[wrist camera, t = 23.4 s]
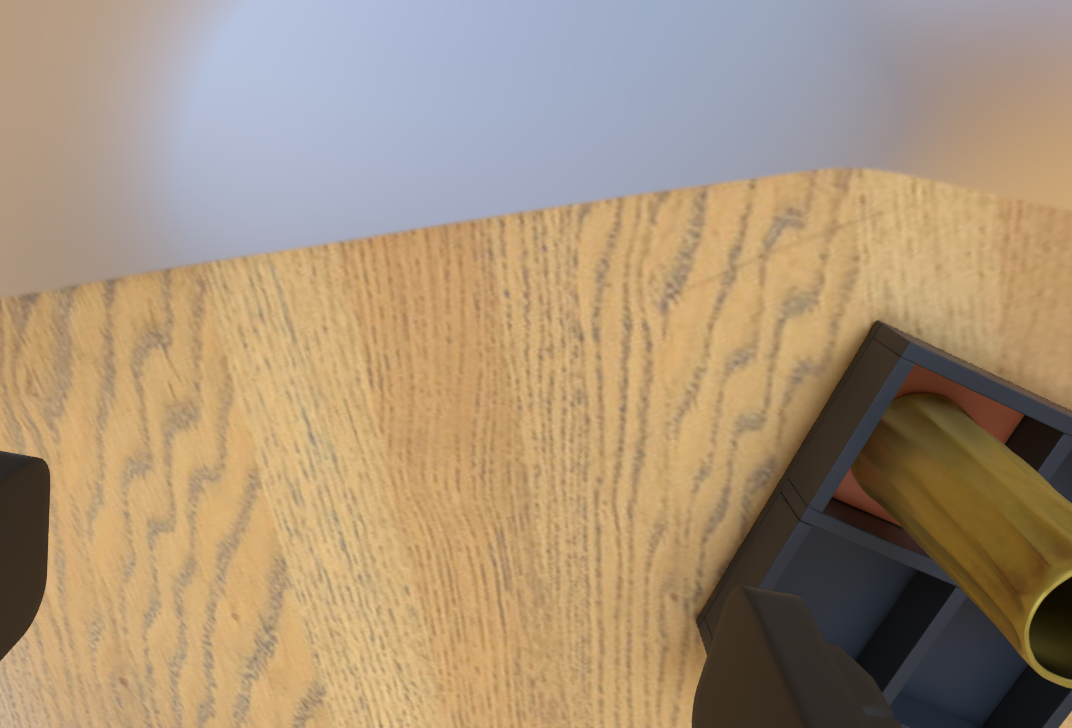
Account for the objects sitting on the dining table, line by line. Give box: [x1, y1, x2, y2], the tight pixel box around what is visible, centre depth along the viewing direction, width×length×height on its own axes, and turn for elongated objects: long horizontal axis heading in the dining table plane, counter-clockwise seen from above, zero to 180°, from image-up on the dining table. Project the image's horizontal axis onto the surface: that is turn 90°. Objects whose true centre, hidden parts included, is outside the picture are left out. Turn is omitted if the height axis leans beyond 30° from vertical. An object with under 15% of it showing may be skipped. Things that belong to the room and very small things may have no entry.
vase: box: [852, 393, 1072, 688], centre depth 35 cm, size 6×6×14 cm
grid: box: [696, 320, 1072, 728], centre depth 42 cm, size 18×18×4 cm
